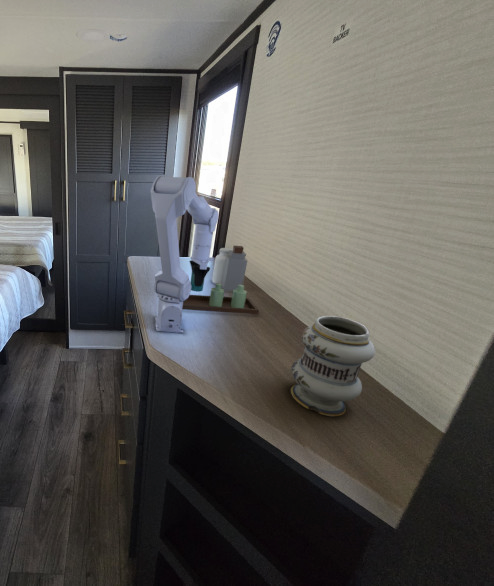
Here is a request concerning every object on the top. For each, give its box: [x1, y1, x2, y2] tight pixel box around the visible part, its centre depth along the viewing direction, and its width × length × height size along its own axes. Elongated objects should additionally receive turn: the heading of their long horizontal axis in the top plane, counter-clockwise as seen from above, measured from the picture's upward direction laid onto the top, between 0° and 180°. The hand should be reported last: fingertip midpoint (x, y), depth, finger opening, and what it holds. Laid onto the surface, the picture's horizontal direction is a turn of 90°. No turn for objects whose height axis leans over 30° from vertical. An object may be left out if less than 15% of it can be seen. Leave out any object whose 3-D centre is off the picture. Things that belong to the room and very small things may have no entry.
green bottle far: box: [230, 284, 248, 308], centre depth 108 cm, size 4×4×8 cm
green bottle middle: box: [209, 283, 225, 307], centre depth 109 cm, size 4×4×8 cm
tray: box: [182, 294, 260, 315], centre depth 111 cm, size 11×26×2 cm, turn 83°
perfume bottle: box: [221, 245, 248, 292], centre depth 125 cm, size 7×7×18 cm
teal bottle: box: [190, 271, 205, 293], centre depth 107 cm, size 4×4×8 cm
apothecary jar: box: [290, 315, 376, 417], centre depth 63 cm, size 12×12×18 cm
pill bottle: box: [211, 247, 233, 285], centre depth 133 cm, size 8×8×15 cm
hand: (196, 283), depth 108 cm, fingers closed on teal bottle, 4 cm apart
